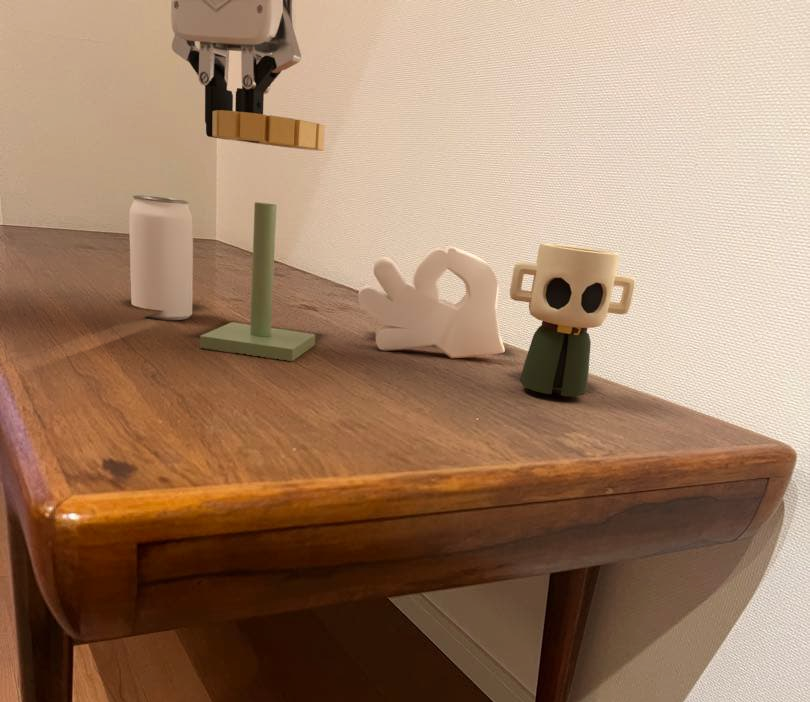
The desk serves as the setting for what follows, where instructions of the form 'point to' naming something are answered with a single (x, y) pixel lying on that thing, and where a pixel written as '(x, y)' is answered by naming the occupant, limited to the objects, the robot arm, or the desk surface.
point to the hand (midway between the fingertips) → (233, 137)
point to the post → (260, 305)
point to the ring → (268, 130)
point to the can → (161, 256)
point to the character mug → (567, 312)
